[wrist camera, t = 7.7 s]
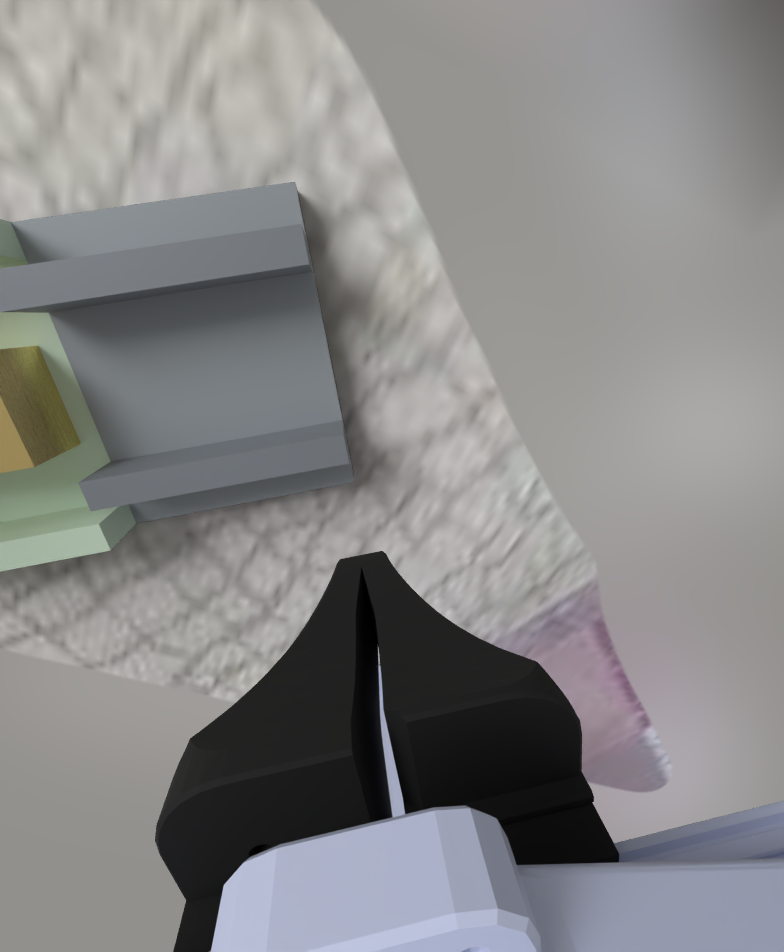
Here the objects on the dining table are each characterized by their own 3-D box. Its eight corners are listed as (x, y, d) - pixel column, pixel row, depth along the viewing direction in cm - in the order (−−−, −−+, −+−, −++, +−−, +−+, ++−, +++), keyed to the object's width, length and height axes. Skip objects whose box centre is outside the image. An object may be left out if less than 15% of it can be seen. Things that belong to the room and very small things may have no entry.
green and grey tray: (353, 473, 21) (357, 504, 18) (-85, 555, 20) (-172, 605, 16) (297, 190, 17) (288, 158, 13) (-268, 271, 15) (-440, 259, 12)
